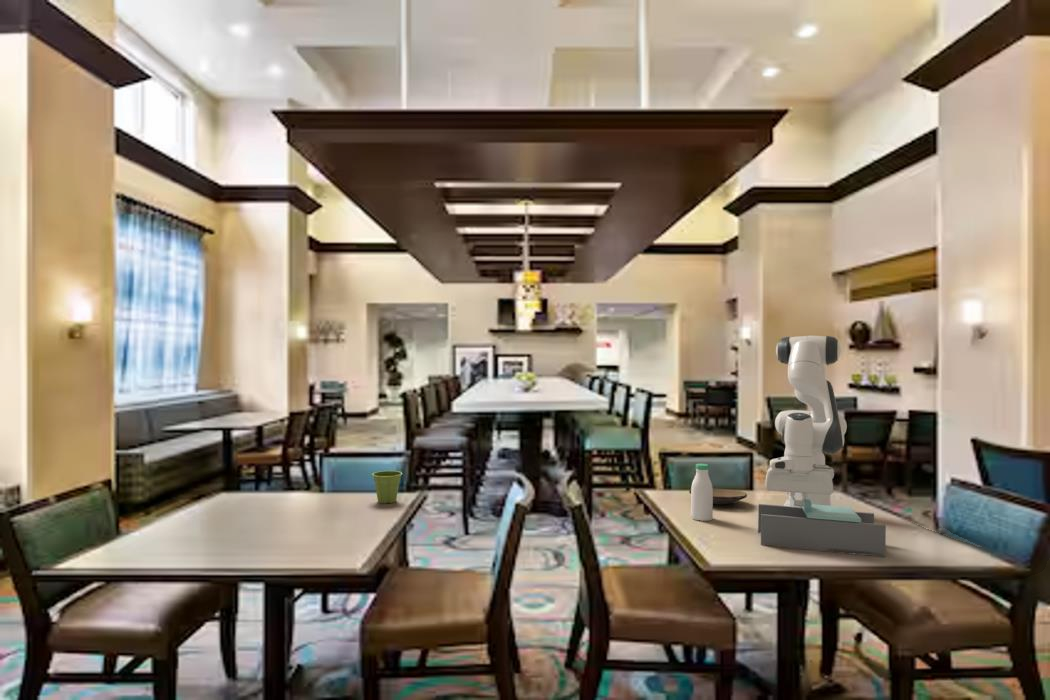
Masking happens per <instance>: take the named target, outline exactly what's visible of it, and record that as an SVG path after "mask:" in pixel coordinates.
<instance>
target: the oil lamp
mask: <svg viewBox="0 0 1050 700" xmlns="http://www.w3.org/2000/svg"><path fill="white" fill-rule="evenodd" d="M695 476H696V475H694V476H693V479H692V480H694V478H695ZM712 488H713V487H712ZM688 494H690V495H691V489H689V491H688ZM747 496H748V493H746V492H744V491H741V490H736V489H735V490H734V489H726V488H716V487H715V488H713V505H730V504H733V503H736V502H739V501H741V500H744V499H746V498H747Z"/></svg>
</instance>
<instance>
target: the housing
mask: <svg viewBox="0 0 1050 700" xmlns="http://www.w3.org/2000/svg"><path fill="white" fill-rule="evenodd" d="M855 513H856V514H857V515H858V516H859V517H860V518H861V522H849V521H838V520H826V519H815V518H807V516H806V514H805V512H804V510H803V509H802V507H792V506H784V505H780V504H779V505H778V504H765V503H758V515H757V517H758V518H757V519H758V520H757V521H758V522H757V523H758V526H757V527H758V528H757V533H759V532H761V533H760V545H761V546H767V545H771V546H770V547H777V546H780V547H779V548H790V549H798V548H799V549H798V550H808V549H812V550H811V551H818V550H821V551H820V552H828V551H833V552H832V553H838V552H844V553H843V554H848V553H855V554H854V555H858V554H865V555H864V556H868V555H874V556H873V557H878V556H885V557H886V546H887V545H886V542H887V541H886V537H887V536H886V535H887V534H886V533H887V531H886V528H887V525H885V524H882V523H875V513H874V512H868V511H867V512H865V511H863V512H862V511H855Z"/></svg>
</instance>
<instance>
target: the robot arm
mask: <svg viewBox="0 0 1050 700" xmlns="http://www.w3.org/2000/svg"><path fill="white" fill-rule="evenodd" d="M838 340H839V339H837V338H836V337H835V336H830V335H826V336H823V335H802V336H791V337H790V336H785V337H782V338H780V339H779V340H778V342H777V344H776V347H775V353H776V357H777V360H778V361H779V362H780V363H781V364H784V365H788V366H787V379H788V382H789V385H790V386H791V387H792V388H793V389H794V396H795V398H796V399H797V400H798V401H799V402H801V403H803V404H805V405H807V406H808V407H809V408H810V409H811V410H796V409H792V410H791V409H790V410H782V411H780V412H778V414H777V415H776V417H775V418H774V419H775V420H774V427H775V430H776V431H777V432H778V434H779V435H780V436H781V443H782V444H783V445H784V446H785V449H784V453H783V456H781V457H777V458H772V459H770V460H769V467H768V469H767V471H766V474H765V484H764V486H765V488H766V490H767V491H772V492H774V491H775V492H783V493H784V492H786V496H787V499H786V500H785V502H784V504H783V506H792V507H803V502H804V501H805V499H806V498H807V497H808V498H809V499H810V501H811V504H816V505H829V506H832V502H831V499H832V498H831V495H832V494H833V493H834V485H833V479H834V477H835V471H834V468H833V467H831V466H829V465H828V464H826V456H825V454H830V455H831V454H832V455H835V454H837V453H838V452H840V451H841V450H842V449H843V448H844V444H845V434H846V433H847V429H848V428H847V427H848V426H847V421H846V418H845V417H844V416H843V415H841V414H840V413H839V412H838V406H837V405H838V404H837V401H836V397H835V392H834V391H835V390H834V387H833V385H832V383H831V382H830V381H829V380H827V379H826V370H825V369H826V368H825V365H827V366H830V365H833V364H835V363H836V362H837V361H839V357H840V355H841V353H842V348H841V345H840V341H838ZM824 453H825V454H824Z"/></svg>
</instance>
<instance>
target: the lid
mask: <svg viewBox="0 0 1050 700" xmlns="http://www.w3.org/2000/svg"><path fill="white" fill-rule="evenodd" d="M802 509H803V510H804V512H805V514H806V516H807V518H815V519H826V520H838V521H850V522H861V518H860V517H859V516H858V515H857V514H856V513H855V512H856V511H854V509H853V508H852V507H851V506H839V505H831V506H829V505H816V504H811V501H810V499H809V498H808V497H807V498H806V499H805V501H804V502H803V507H802Z"/></svg>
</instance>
